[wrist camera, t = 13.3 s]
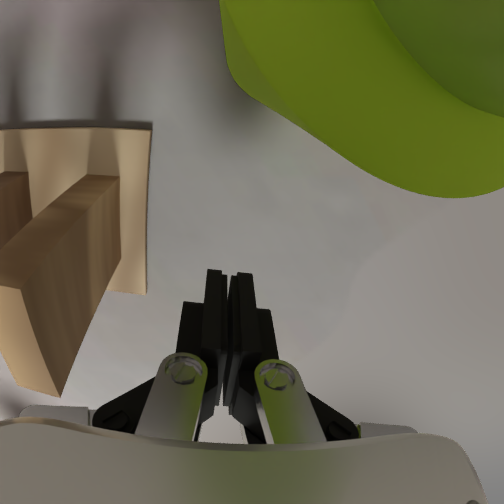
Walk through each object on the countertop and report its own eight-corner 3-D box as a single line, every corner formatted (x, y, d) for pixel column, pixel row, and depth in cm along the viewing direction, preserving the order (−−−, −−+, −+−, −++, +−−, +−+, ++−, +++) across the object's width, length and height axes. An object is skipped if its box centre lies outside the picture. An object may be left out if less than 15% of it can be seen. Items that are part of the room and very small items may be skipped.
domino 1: (90, 254, 18) (17, 385, 9) (86, 174, 15) (-28, 279, 7) (121, 258, 18) (60, 397, 9) (120, 176, 16) (20, 289, 7)
